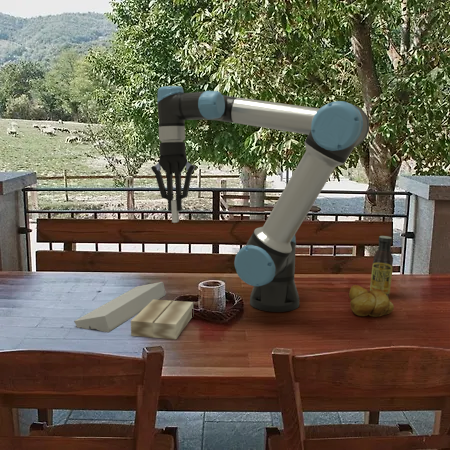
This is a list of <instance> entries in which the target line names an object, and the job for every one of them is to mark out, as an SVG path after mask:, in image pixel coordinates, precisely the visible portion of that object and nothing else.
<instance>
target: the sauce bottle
mask: <svg viewBox="0 0 450 450" xmlns="http://www.w3.org/2000/svg"><path fill="white" fill-rule="evenodd" d="M392 242H393V237H392V236H388V235H380V236H378V248H377V251H376V252H375V254H374V255H373V261H372V267H371V268H372V269H371V276H370V285H369V291H371V290H378V291H381V292H383V293H385V294H386V295H387V296H388V298H389V297H390V293H391V285H392V276H393V275H392V274H393V269H394V268H393V265H394V263H393V262H394V257H393V254H392V252H391V250H392V249H391V247H392Z"/></svg>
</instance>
